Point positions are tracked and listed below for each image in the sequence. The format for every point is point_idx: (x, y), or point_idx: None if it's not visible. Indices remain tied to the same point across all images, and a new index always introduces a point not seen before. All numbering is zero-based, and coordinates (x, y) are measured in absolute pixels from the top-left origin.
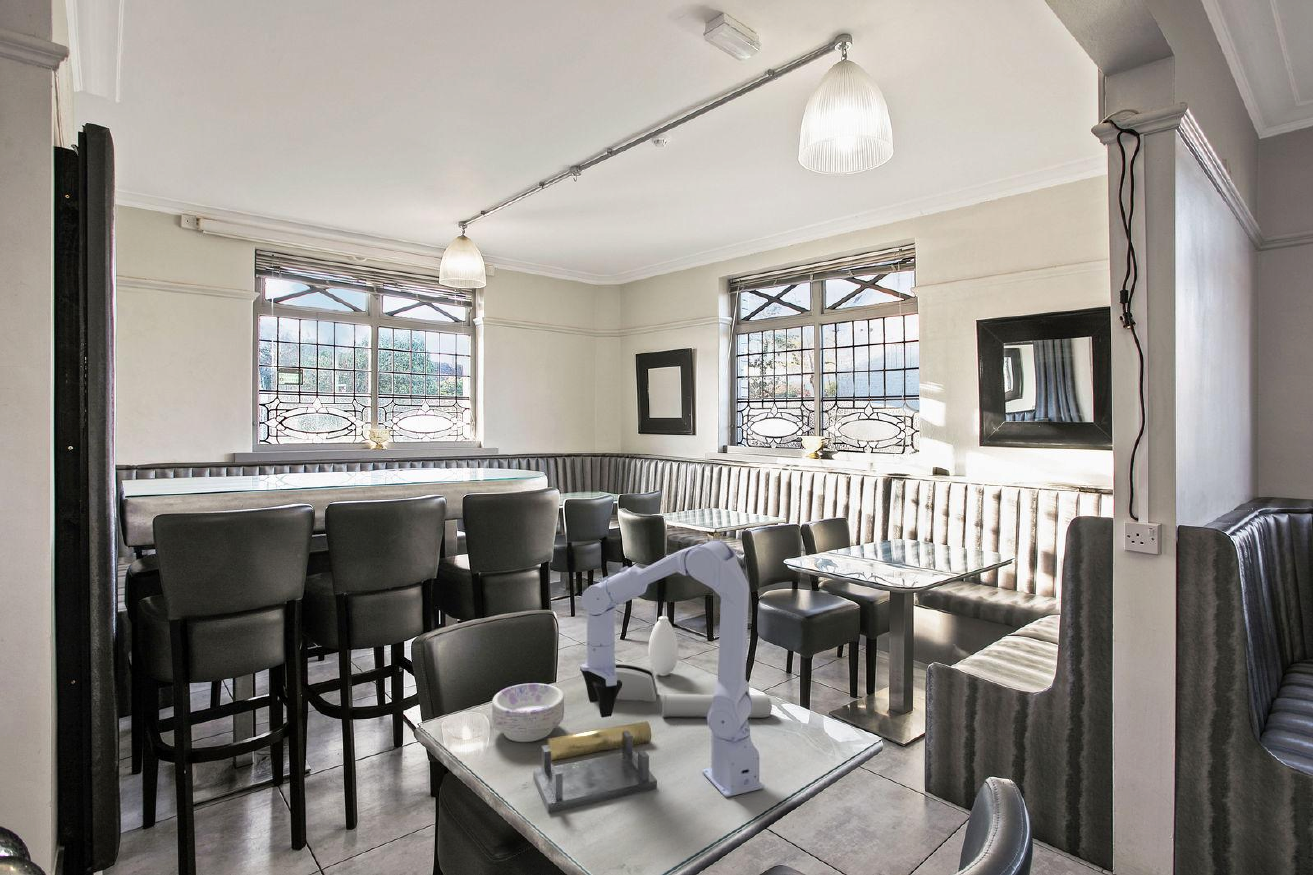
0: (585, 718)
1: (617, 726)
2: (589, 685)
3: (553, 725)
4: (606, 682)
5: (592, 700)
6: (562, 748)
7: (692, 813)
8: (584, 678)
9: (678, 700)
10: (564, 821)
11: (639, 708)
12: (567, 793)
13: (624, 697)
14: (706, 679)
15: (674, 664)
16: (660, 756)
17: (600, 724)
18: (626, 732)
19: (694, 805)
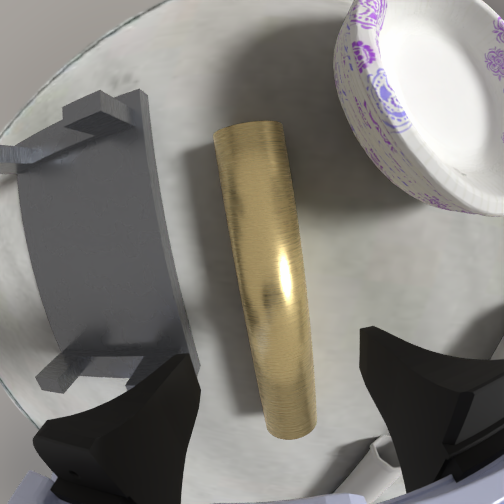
0: (455, 275)
1: (295, 372)
2: (400, 372)
3: (369, 154)
4: (26, 485)
5: (363, 341)
6: (219, 171)
7: (31, 381)
8: (451, 362)
9: (371, 484)
10: (6, 179)
11: None
12: (32, 183)
13: None
14: None
15: None
16: (202, 413)
17: (414, 311)
18: None
19: (47, 392)
